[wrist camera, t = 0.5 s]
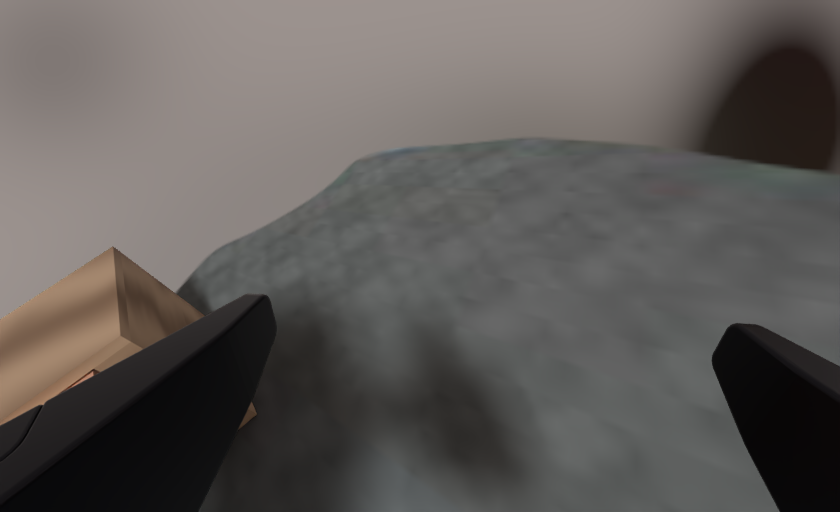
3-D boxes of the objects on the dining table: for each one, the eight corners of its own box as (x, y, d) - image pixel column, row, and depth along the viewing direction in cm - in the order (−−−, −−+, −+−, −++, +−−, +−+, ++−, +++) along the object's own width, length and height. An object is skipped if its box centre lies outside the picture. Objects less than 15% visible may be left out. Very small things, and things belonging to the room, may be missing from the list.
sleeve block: (256, 414, 26) (120, 335, 18) (135, 515, 24) (-76, 474, 16) (223, 329, 33) (113, 246, 25) (126, 403, 31) (-27, 336, 23)
